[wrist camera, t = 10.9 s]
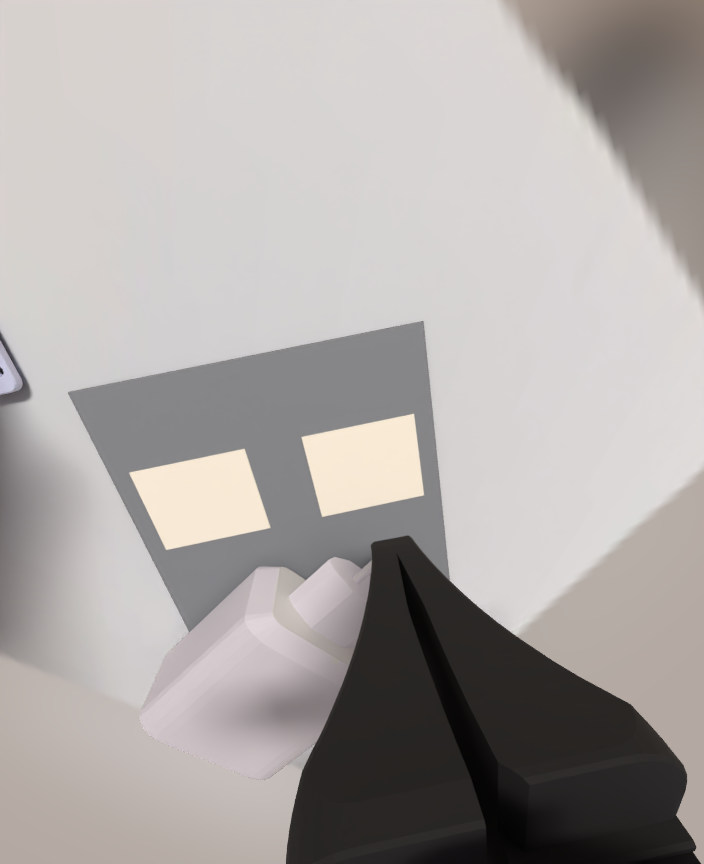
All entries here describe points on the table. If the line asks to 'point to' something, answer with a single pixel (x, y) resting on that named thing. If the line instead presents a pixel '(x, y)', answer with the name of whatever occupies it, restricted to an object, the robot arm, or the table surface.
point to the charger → (261, 669)
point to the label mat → (274, 460)
